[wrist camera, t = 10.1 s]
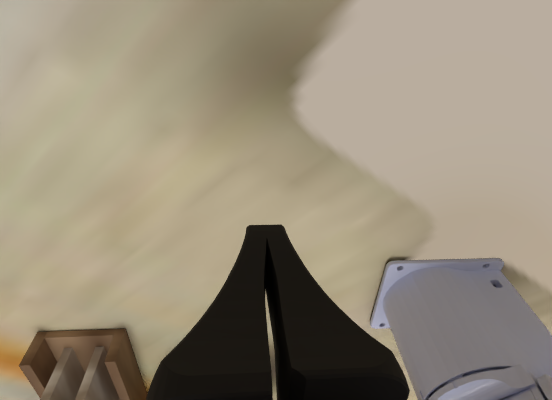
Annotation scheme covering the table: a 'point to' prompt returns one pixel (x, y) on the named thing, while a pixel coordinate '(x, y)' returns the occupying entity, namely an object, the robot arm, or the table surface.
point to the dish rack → (83, 366)
